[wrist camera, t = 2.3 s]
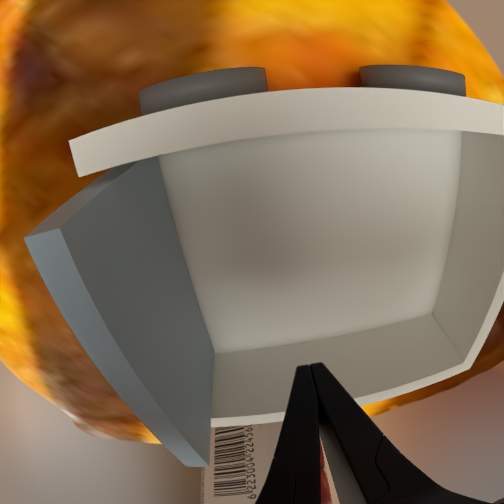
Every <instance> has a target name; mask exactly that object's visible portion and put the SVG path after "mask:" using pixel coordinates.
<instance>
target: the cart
mask: <svg viewBox="0 0 504 504" xmlns="http://www.w3.org/2000/svg"><path fill="white" fill-rule="evenodd" d="M359 69H360V78H361V87H338V88H310V89H295V90H283V91H272V92H268V87H267V80H266V74H265V69H264V68H261V67H241V68H229V69H220V70H213V71H207V72H201V73H196V74H191V75H187V76H183V77H178V78H175V79H171V80H167V81H164V82H161V83H158V84H155V85H152V86H149V87H147V88H145V89H142V90H141V91H139V92H138V97H139V102H140V107H141V112H142V116H141V117H138V118H134V119H131V120H127V121H124V122H121V123H118V124H114V125H111V126H108V127H105V128H102V129H99V130H97V131H94V132H91V133H88V134H85V135H83V136H80V137H77V138H75V139H72V140H70V141H69V143H70V147H71V151H72V155H73V159H74V163H75V166H76V170H77V173H78V177H82V176H85V175H88V174H91V173H94V172H98V171H101V170H104V169H108V168H111V167H115V166H119V165H122V164H126V163H130V162H133V161H137V160H141V159H145V158H149V157H154V156H157V157H158V161H159V165H160V169H161V174H162V178H163V182H164V186H165V190H166V194H167V198H168V202H169V205H170V209H171V213H172V217H173V220H174V224H175V228H176V231H177V235H178V239H179V242H180V246H181V249H182V253H183V256H184V259H185V263H186V266H187V269H188V273H189V276H190V279H191V283H192V286H193V289H194V292H195V295H196V298H197V301H198V305H199V308H200V311H201V314H202V317H203V320H204V323H205V326H206V329H207V332H208V334H209V337H210V340H211V343H212V346H213V349H214V352H215V353H214V370H213V389H212V410H211V427H227V426H241V425H253V424H263V423H272V422H280V421H283V420H284V416H285V412H286V408H287V404H288V400H289V396H290V392H291V388H292V384H293V380H294V375H295V371H296V367H297V366H299V365H305V364H308V365H309V366H310V364H312V363H317V362H322V363H324V365H325V366H326V367H327V368H328V369H329V370H330V372H331V373H332V374H333V375H334V376H335V378H336V379H337V380H338V381H339V382H340V384H341V385H342V386H343V387H344V388H345V389H346V391H347V392H348V393H349V394H350V395H351V397H352V398H353V399H354V400H355V401H356V402H357V404H358V405H359V406H363V405H367V404H371V403H374V402H378V401H382V400H385V399H389V398H392V397H395V396H398V395H402V394H405V393H408V392H411V391H414V390H417V389H420V388H422V387H425V386H428V385H431V384H433V383H436V382H439V381H441V380H444V379H446V378H449V377H451V376H454V375H456V374H458V373H461V372H463V371H465V370H468V369H470V367H471V366H472V364H473V362H474V360H475V359H476V357H477V355H478V353H479V351H480V350H481V348H482V346H483V344H484V342H485V340H486V338H487V336H488V334H489V332H490V330H491V328H492V326H493V324H494V321H495V319H496V317H497V315H498V313H499V310H500V308H501V306H502V303H503V301H504V105H502V104H497V103H493V102H489V101H484V100H479V99H474V98H468V97H466V86H465V76H464V75H463V74H460V73H456V72H452V71H448V70H442V69H436V68H429V67H421V66H408V65H370V66H362V67H360V68H359Z"/></svg>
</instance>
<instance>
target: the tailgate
mask: <svg viewBox="0 0 504 504" xmlns="http://www.w3.org/2000/svg"><path fill="white" fill-rule="evenodd" d="M24 240H25V243H26V245H27V247H28V250H29V252H30V254H31V256H32V258H33V260H34V263H35V265H36V267H37V269H38V271H39V273H40V275H41V277H42V279H43V281H44V283H45V285H46V287H47V288H48V290H49V292H50V294H51V296H52V298H53V299H54V301H55V303H56V305H57V307H58V308H59V310H60V312H61V313H62V315H63V317H64V318H65V320H66V322H67V323H68V325H69V327H70V328H71V330H72V331H73V333H74V334H75V336H76V338H77V339H78V341H79V342H80V344H81V345H82V347H83V348H84V350H85V351H86V352H87V354H88V355H89V357H90V358H91V360H92V361H93V362H94V364H95V365H96V367H97V368H98V369H99V371H100V372H101V373H102V375H103V376H104V377H105V379H106V380H107V381H108V383H109V384H110V385H111V386H112V388H113V389H114V390H115V391H116V393H117V394H118V395H119V396H120V397H121V399H122V400H123V401H124V402H125V403H126V405H127V406H128V407H129V408H130V409H131V410H132V412H133V413H134V414H135V415H136V416H137V417H138V418H139V419H140V421H141V422H142V423H143V424H144V425H145V426H146V427H147V428H148V429H149V430H150V431H151V432H152V433H153V434H154V436H155V437H156V438H157V439H158V440H159V441H160V442H161V443H162V444H163V445H164V446H165V447H166V448H168V450H169V451H171V452H172V453H173V454H174V455H175V456H176V457H177V458H178V459H179V460H180V461H181V462H182V463H184V465H186V466H202V467H210V434H211V410H212V389H213V370H214V353H215V352H214V349H213V346H212V343H211V340H210V337H209V334H208V332H207V329H206V326H205V323H204V320H203V317H202V314H201V311H200V308H199V305H198V301H197V298H196V295H195V292H194V289H193V286H192V283H191V279H190V276H189V273H188V269H187V266H186V263H185V259H184V256H183V253H182V249H181V246H180V242H179V239H178V235H177V231H176V228H175V224H174V220H173V217H172V213H171V209H170V205H169V202H168V198H167V194H166V190H165V186H164V182H163V178H162V174H161V169H160V165H159V161H158V157H157V156H154V157H149V158H145V159H141V160H137V161H133V162H130V163H126V164H122V165H119V166H115V167H113V168H112V169H110V170H109V171H107V172H106V173H104V174H103V175H102V176H100V177H99V178H97V179H96V180H94V181H93V182H92V183H90V184H89V185H88V186H86V187H85V188H84V189H82V190H81V191H80V192H78V193H77V194H76V195H74V196H73V197H72V198H70V199H69V200H68V201H67V202H65V203H64V204H63V205H61V206H60V207H59V208H58V209H57V210H55V211H54V212H53V213H52V214H50V215H49V216H48V217H47V218H46V219H44V220H43V221H42V222H41V223H40V224H39V225H38V226H36V227H35V228H34V229H33V230H32V231H31V232H30V233H29V234H27V235H26V236H25V237H24Z"/></svg>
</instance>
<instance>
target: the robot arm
mask: <svg viewBox="0 0 504 504" xmlns="http://www.w3.org/2000/svg"><path fill="white" fill-rule="evenodd" d="M320 437H321V441H322V444H323V448H324V451H325V454H326V458H327V461H328V464H329V468H330V471H331V474H332V478H333V482H334V485H335V488H336V492H337V495H338V499H339V502H340V504H504V498H502V499H500V500H498V501H496V502H494V503H488V502H484V501H480V500H477V499H473V498H470V497H467V496H463V495H460V494H457V493H454V492H451V491H449V490H447V489H445V488H443V487H441V486H440V485H438V484H437V483H435V482H434V481H433V480H432V479H430V478H429V477H428V476H427V475H426V474H424V473H423V472H422V471H421V470H420V469H418V468H417V467H416V466H415V465H413V464H412V463H411V462H410V461H409V460H408V459H407V458H406V457H405V456H404V455H403V454H401V453H400V452H399V450H398V449H397V448H396V447H395V446H394V445H393V444H392V443H391V442H390V441H389V440H388V439H387V437H386V436H385V435H384V436H383V433H382V432H381V430H380V429H379V428H378V427H377V426H376V425H375V423H374V422H373V421H372V420H371V419H370V418H369V416H368V415H367V414H366V413H365V412H364V411H363V409H362V408H361V407H360V406H359V405H358V404H357V402H356V401H355V400H354V399H353V398H352V397H351V395H350V394H349V393H348V392H347V391H346V389H345V388H344V387H343V386H342V385H341V384H340V382H339V381H338V380H337V379H336V378H335V376H334V375H333V374H332V373H331V372H330V370H329V369H328V368H327V367H326V366H325V365H324V363H322V362H317V363H312V364H310V366H309V365H308V364H305V365H299V366H297V367H296V371H295V375H294V380H293V384H292V388H291V392H290V396H289V400H288V404H287V408H286V412H285V416H284V420H283V424H282V427H281V431H280V435H279V438H278V442H277V446H276V449H275V453H274V458H273V459H272V462H271V466H270V469H269V472H268V475H267V478H266V480H265V483H264V485H263V487H262V490H261V492H260V494H259V496H258V498H257V500H256V502H255V504H321V461H320Z"/></svg>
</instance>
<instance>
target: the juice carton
mask: <svg viewBox="0 0 504 504" xmlns="http://www.w3.org/2000/svg"><path fill="white" fill-rule="evenodd" d="M282 424H283V421H280V422H272V423H263V424H253V425H241V426H227V427H211V434H210V467H202V478H201V504H255V502H256V500H257V498H258V496H259V494H260V492H261V490H262V487H263V485H264V483H265V480H266V478H267V475H268V472H269V469H270V466H271V462H272V459H273V458H274V453H275V449H276V446H277V442H278V438H279V435H280V431H281V427H282ZM320 461H321V504H332V500H331V494H330V489H329V483H328V478H327V472H326V467H325V461H324V456H323V451H322V446H321V440H320Z"/></svg>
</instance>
